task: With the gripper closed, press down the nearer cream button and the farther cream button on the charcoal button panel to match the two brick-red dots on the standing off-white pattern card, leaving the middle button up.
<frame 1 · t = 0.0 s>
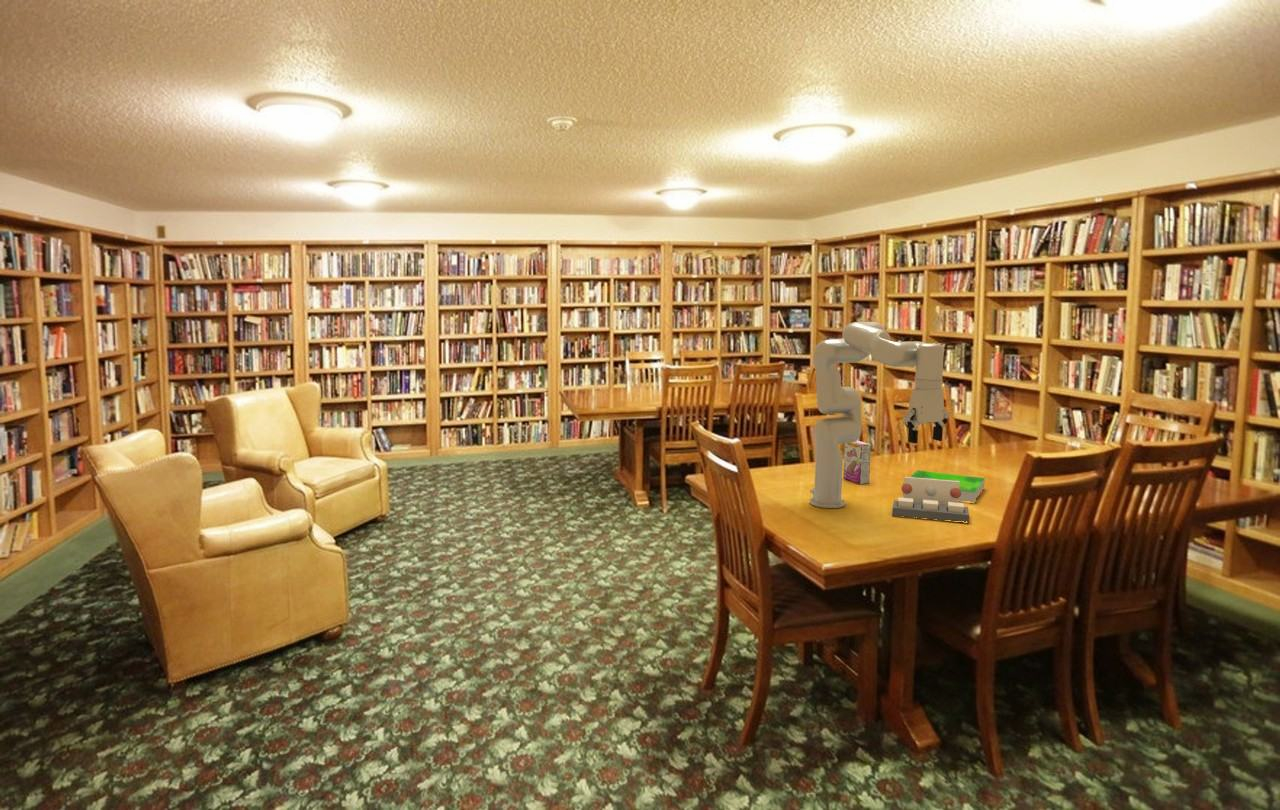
hand: (925, 441, 220), 31 cm above the table, tool pointing down, fingers open, 9 cm apart
button panel: (929, 515, 250), on the table
button 1: (905, 503, 253), point 3 cm above the table, slide at 0.0 cm
candy bar box: (855, 481, 298), on the table
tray: (943, 493, 282), on the table
middle button: (930, 506, 250), point 3 cm above the table, slide at 0.0 cm
button 2: (955, 508, 247), point 3 cm above the table, slide at 0.0 cm
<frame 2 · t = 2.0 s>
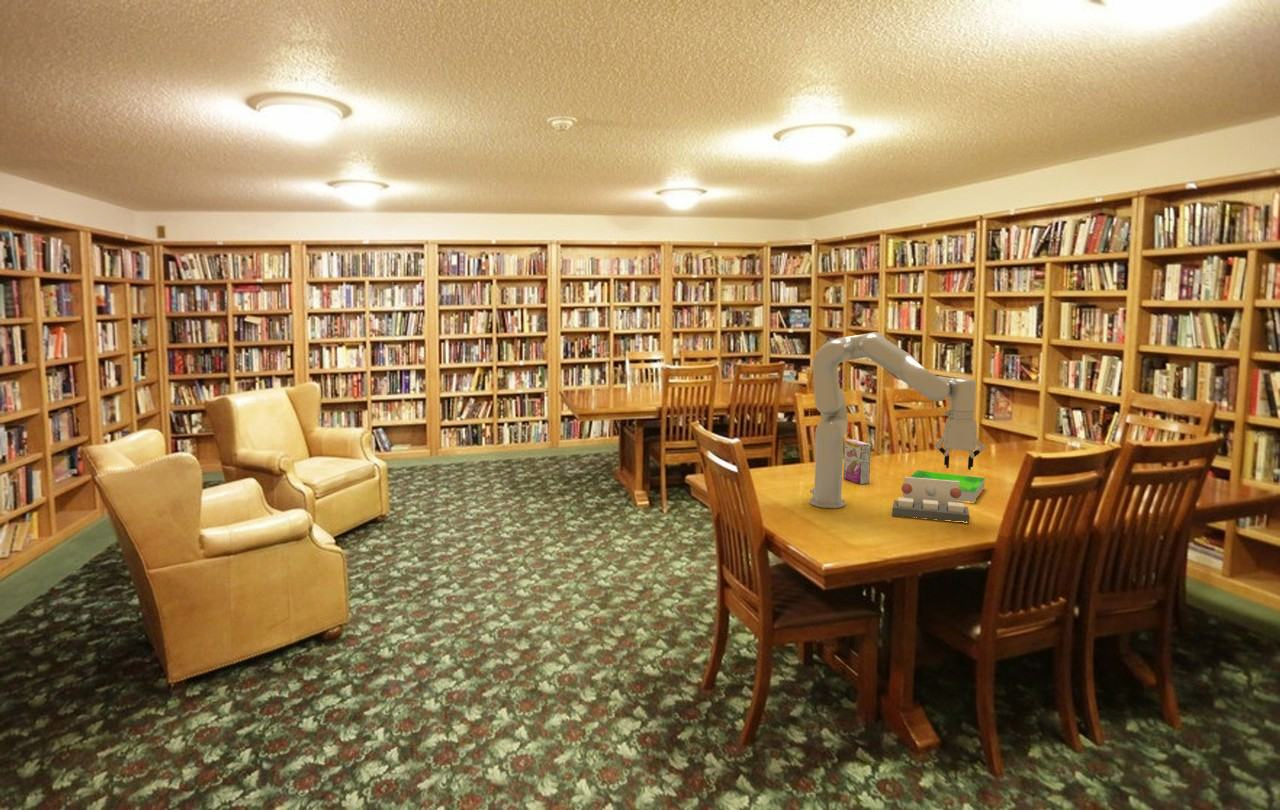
hand: (958, 467, 245), 18 cm above the table, tool pointing down, fingers open, 6 cm apart
nothing on the table moved.
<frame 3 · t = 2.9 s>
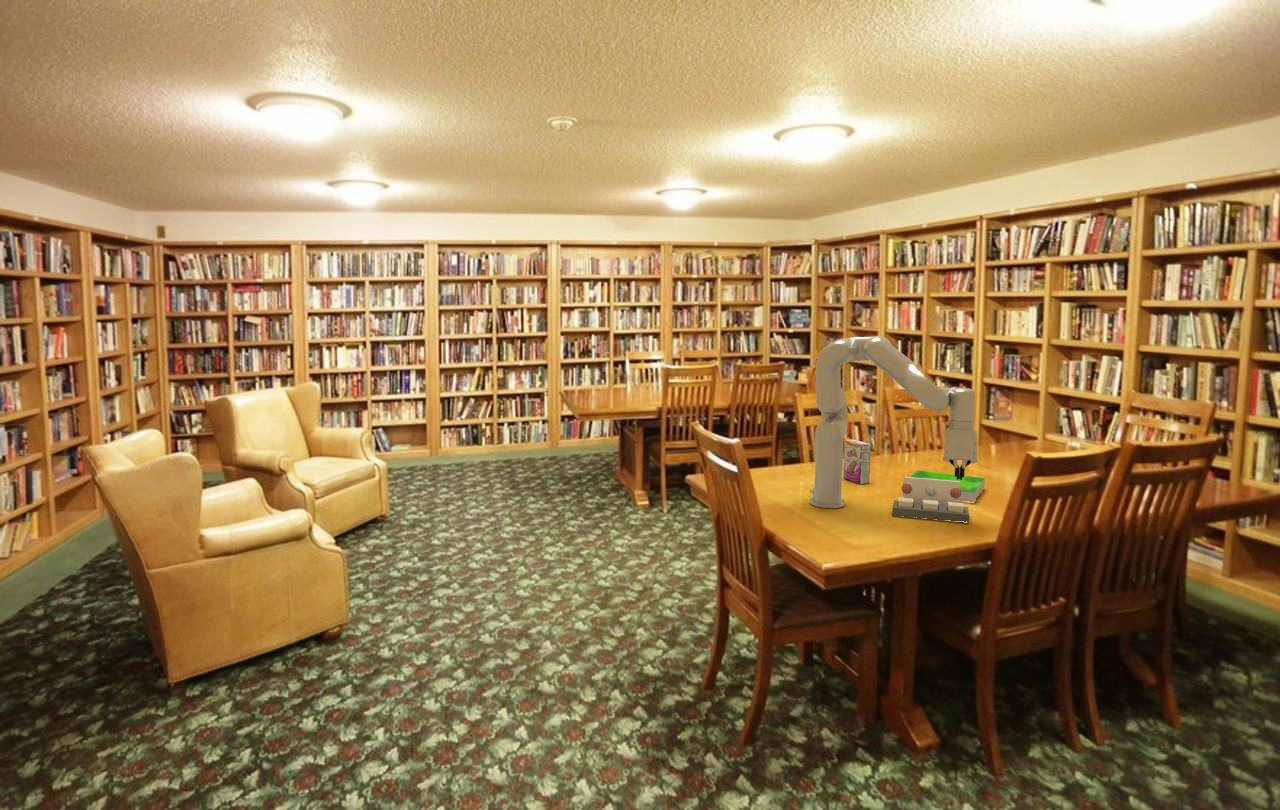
hand: (959, 478, 245), 14 cm above the table, tool pointing down, fingers closed
nothing on the table moved.
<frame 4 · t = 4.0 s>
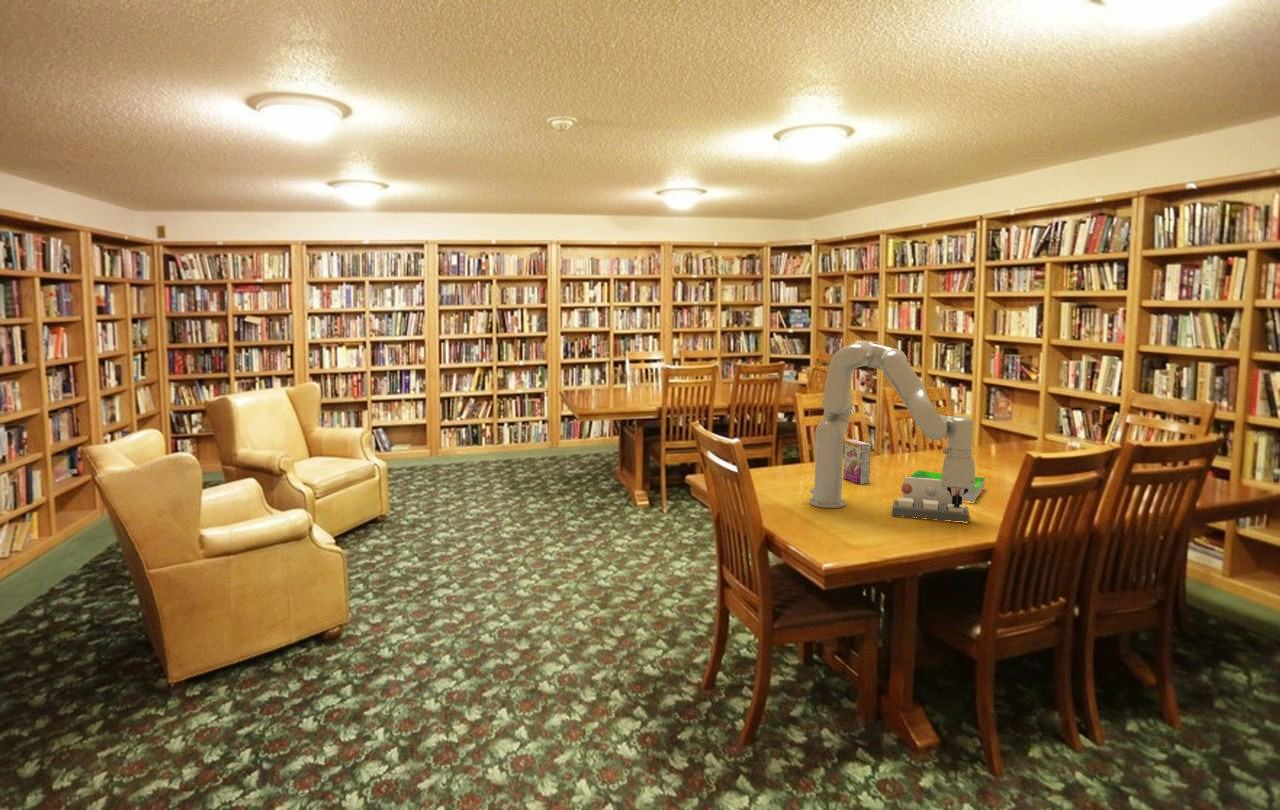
hand: (956, 506, 247), 4 cm above the table, tool pointing down, fingers closed
button 2: (955, 510, 247), point 3 cm above the table, slide at 0.8 cm, touching gripper
everything else where it was.
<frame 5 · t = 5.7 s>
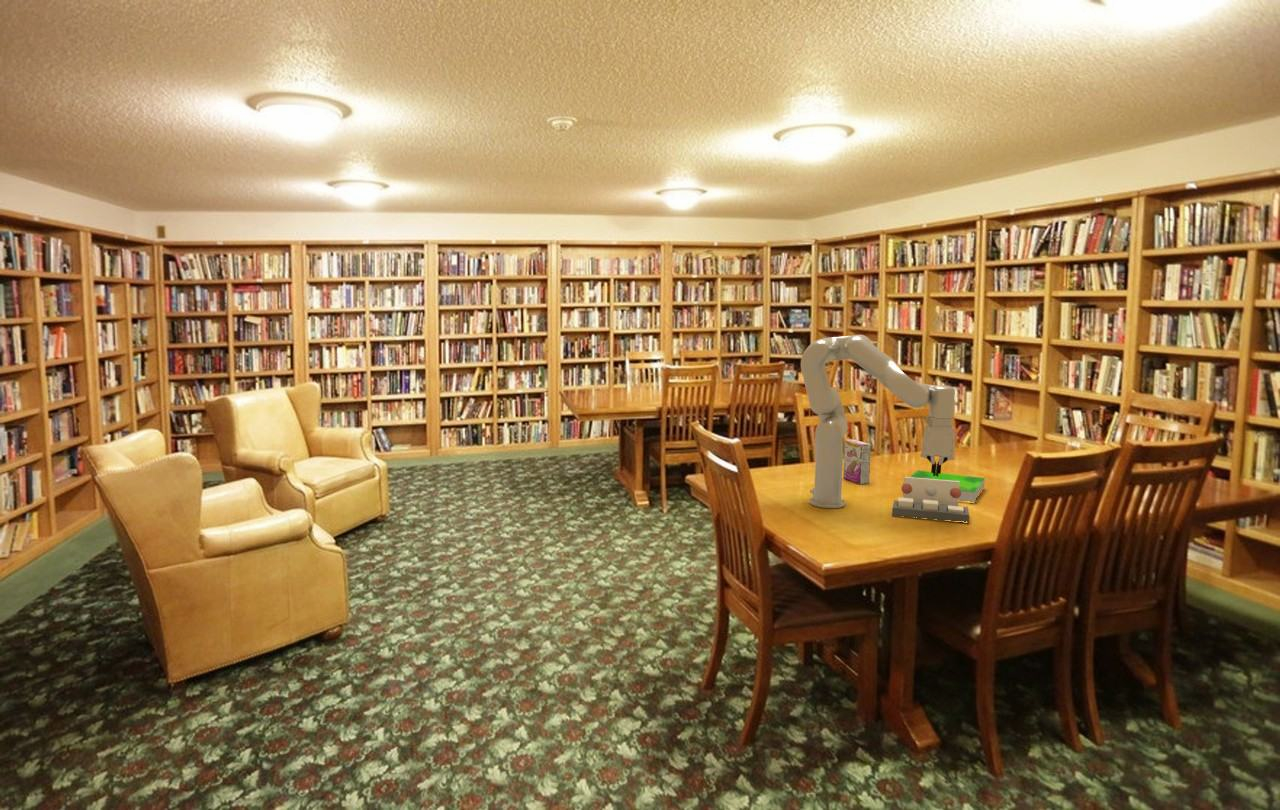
hand: (935, 475, 248), 14 cm above the table, tool pointing down, fingers closed
button 2: (955, 512, 247), point 2 cm above the table, slide at 1.3 cm
everything else where it was.
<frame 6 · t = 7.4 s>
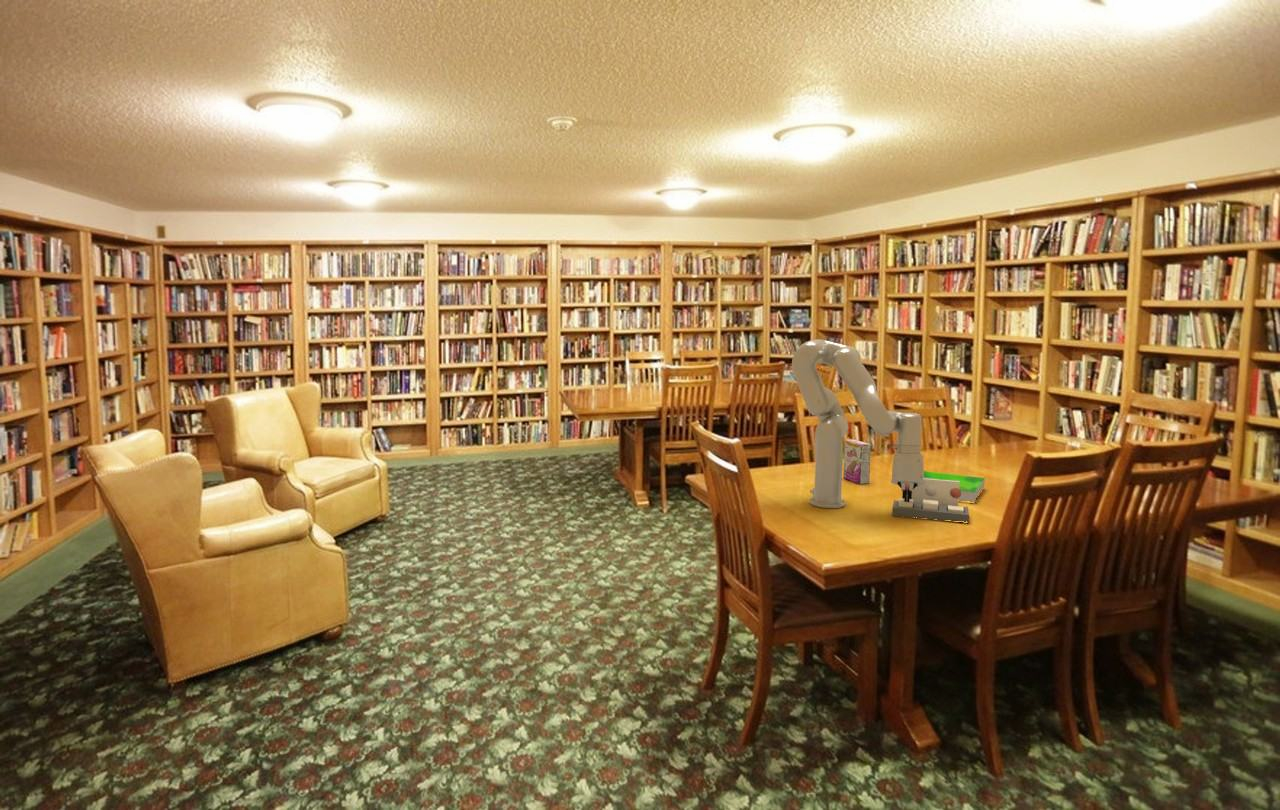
hand: (906, 500, 252), 5 cm above the table, tool pointing down, fingers closed
button 1: (905, 504, 253), point 3 cm above the table, slide at 0.4 cm, touching gripper
everything else where it was.
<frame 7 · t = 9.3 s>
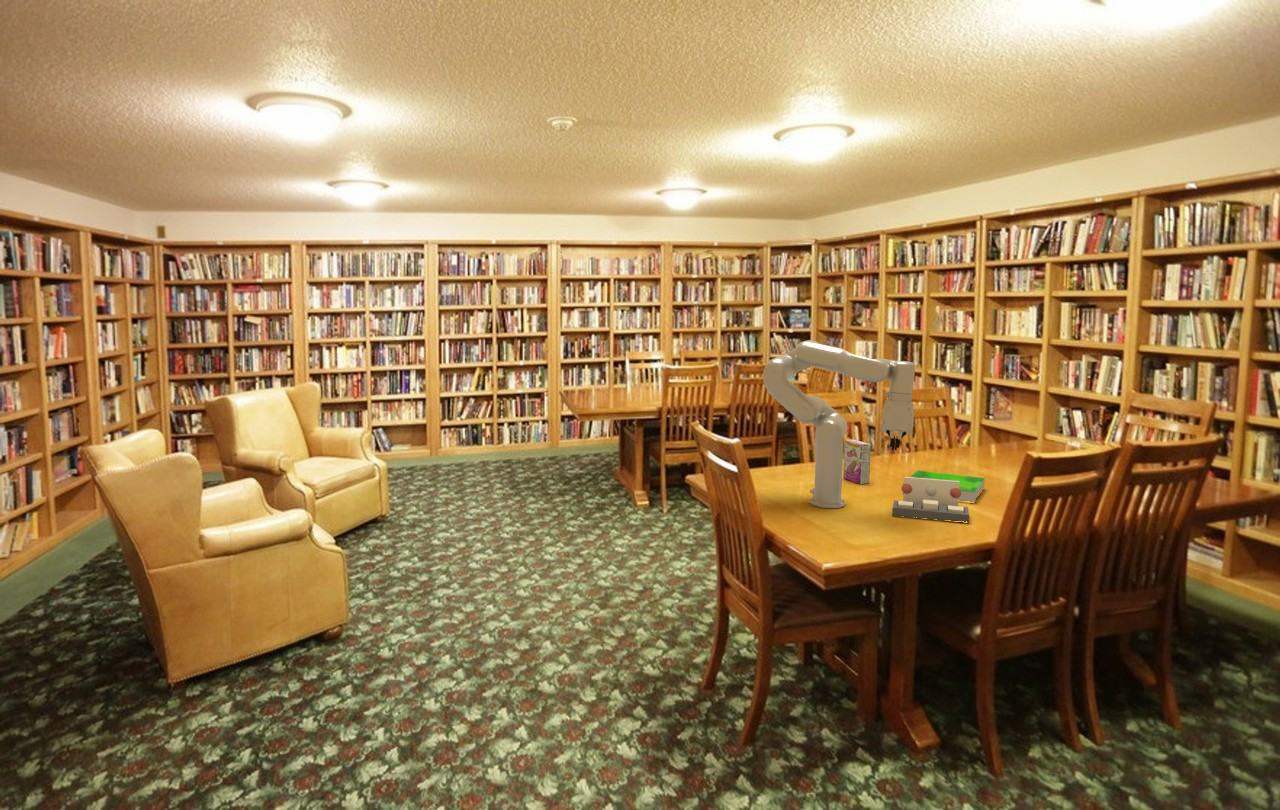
hand: (894, 449, 253), 22 cm above the table, tool pointing down, fingers closed
button 1: (905, 507, 253), point 2 cm above the table, slide at 1.3 cm
everything else where it was.
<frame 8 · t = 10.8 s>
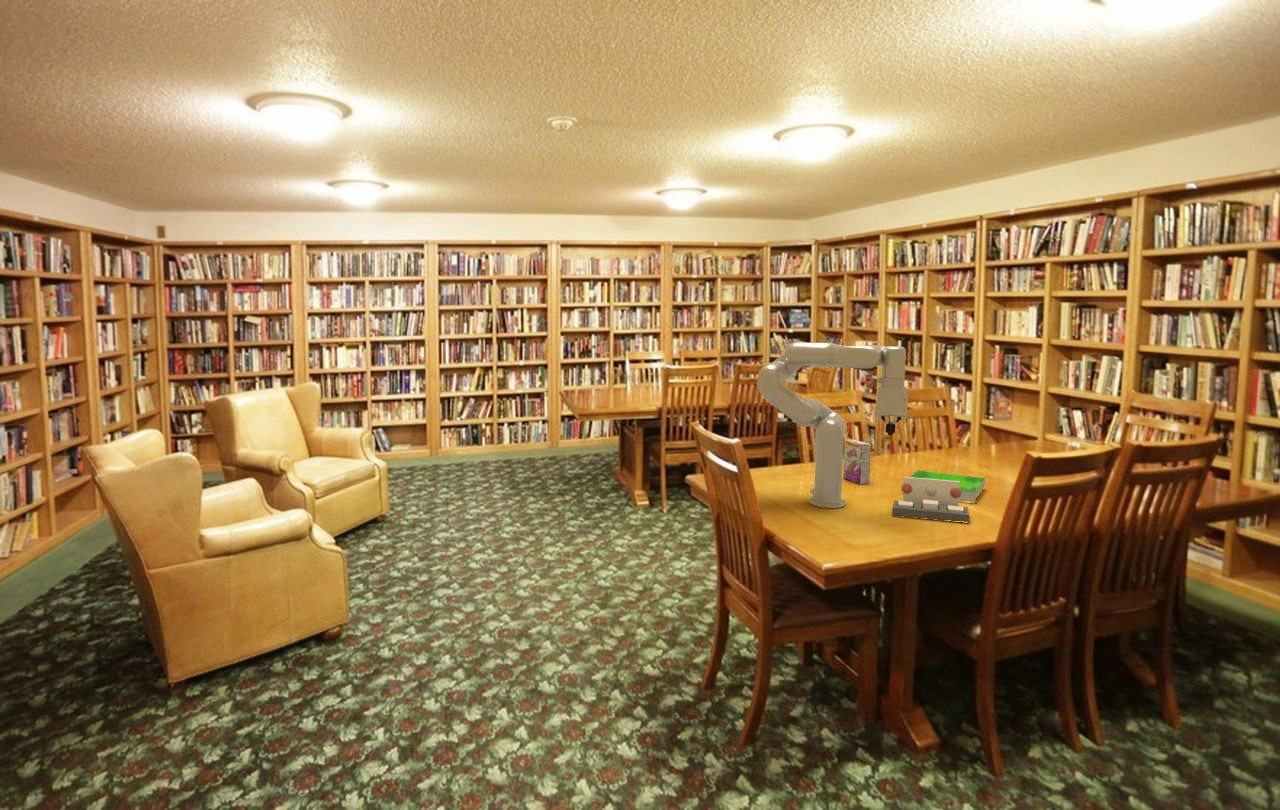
hand: (890, 434, 253), 27 cm above the table, tool pointing down, fingers closed
nothing on the table moved.
at the end: button 2 slide at 1.3 cm; button 1 slide at 1.3 cm; middle button slide at 0.0 cm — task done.
